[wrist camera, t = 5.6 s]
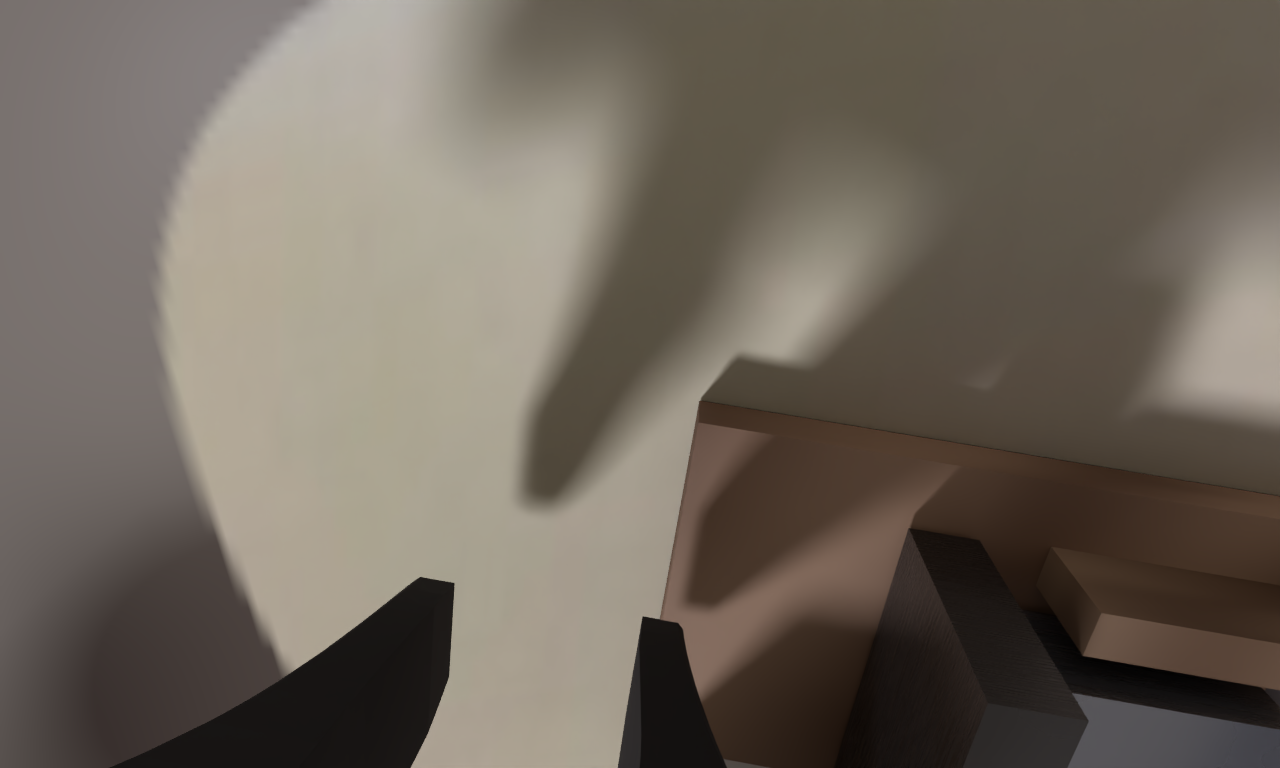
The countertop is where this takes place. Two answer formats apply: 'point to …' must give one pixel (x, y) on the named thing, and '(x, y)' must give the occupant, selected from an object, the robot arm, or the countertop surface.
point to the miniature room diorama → (954, 505)
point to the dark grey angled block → (1027, 686)
